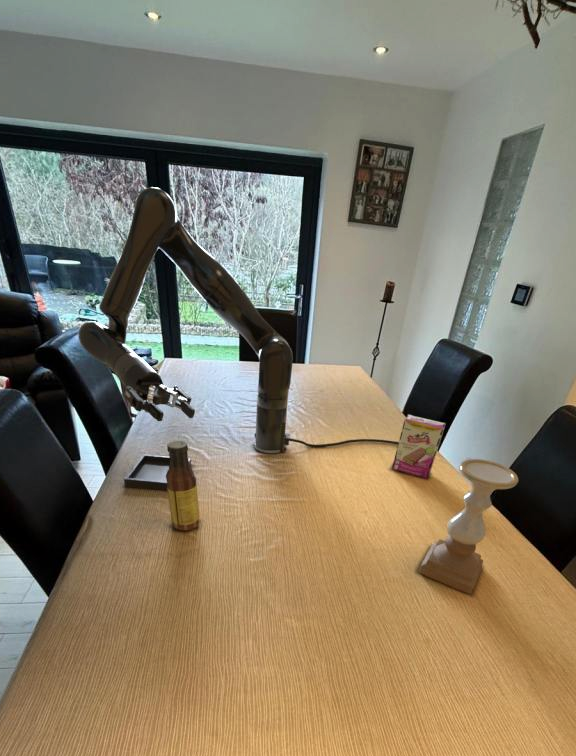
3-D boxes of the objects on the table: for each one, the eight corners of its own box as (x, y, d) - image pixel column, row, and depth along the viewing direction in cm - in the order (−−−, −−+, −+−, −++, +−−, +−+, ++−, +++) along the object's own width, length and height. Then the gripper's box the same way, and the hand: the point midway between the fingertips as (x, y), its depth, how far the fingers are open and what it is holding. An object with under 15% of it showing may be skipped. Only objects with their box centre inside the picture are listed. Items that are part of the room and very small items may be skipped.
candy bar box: (391, 470, 126) (403, 418, 117) (394, 463, 130) (407, 413, 121) (428, 480, 123) (444, 428, 114) (430, 473, 127) (446, 422, 118)
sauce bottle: (204, 520, 97) (201, 441, 86) (190, 535, 92) (185, 453, 81) (179, 513, 98) (173, 435, 87) (165, 527, 93) (156, 446, 82)
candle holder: (471, 595, 83) (517, 492, 70) (417, 572, 87) (452, 472, 74) (481, 566, 91) (524, 469, 78) (432, 546, 95) (465, 452, 82)
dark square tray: (191, 465, 119) (190, 458, 117) (178, 491, 106) (177, 483, 105) (143, 461, 118) (142, 454, 117) (125, 486, 106) (123, 479, 105)
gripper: (112, 361, 90) (154, 403, 85) (166, 362, 101) (207, 400, 95) (107, 391, 95) (146, 433, 89) (159, 389, 105) (198, 427, 100)
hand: (177, 416), depth 92 cm, fingers open, 8 cm apart
